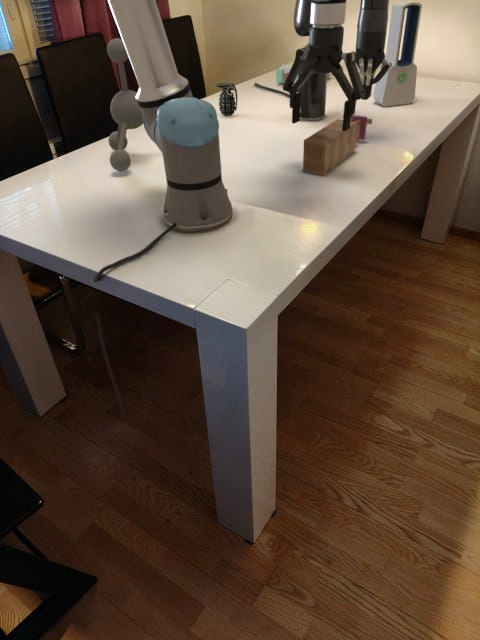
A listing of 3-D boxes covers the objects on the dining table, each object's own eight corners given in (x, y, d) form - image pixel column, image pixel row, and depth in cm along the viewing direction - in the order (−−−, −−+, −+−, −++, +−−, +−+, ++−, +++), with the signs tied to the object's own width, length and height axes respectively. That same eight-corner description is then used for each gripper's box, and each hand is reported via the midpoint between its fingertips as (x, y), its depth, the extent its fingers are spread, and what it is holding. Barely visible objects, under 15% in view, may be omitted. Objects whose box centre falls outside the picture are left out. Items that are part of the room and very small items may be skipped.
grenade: (217, 117, 168) (214, 86, 162) (221, 112, 172) (219, 82, 166) (235, 117, 166) (233, 86, 160) (239, 113, 171) (238, 82, 165)
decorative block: (299, 55, 215) (340, 58, 206) (298, 71, 219) (339, 75, 210) (267, 66, 199) (310, 70, 190) (267, 83, 203) (309, 88, 194)
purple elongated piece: (357, 131, 146) (360, 109, 143) (372, 133, 144) (375, 111, 140) (322, 156, 131) (323, 132, 127) (338, 159, 129) (340, 135, 125)
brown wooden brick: (335, 148, 138) (337, 119, 133) (354, 152, 135) (357, 121, 130) (302, 171, 126) (303, 140, 121) (323, 175, 123) (325, 143, 118)
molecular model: (194, 162, 134) (180, 38, 116) (114, 177, 128) (87, 49, 110) (171, 138, 152) (156, 27, 133) (100, 151, 146) (75, 36, 127)
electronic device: (382, 107, 168) (394, 4, 149) (371, 102, 174) (382, 2, 155) (414, 102, 170) (430, 0, 152) (403, 98, 176) (417, -1, 158)
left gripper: (388, 25, 104) (374, 128, 116) (285, 21, 115) (283, 115, 128) (374, 30, 99) (362, 137, 112) (269, 25, 110) (268, 122, 123)
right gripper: (402, 27, 126) (392, 98, 137) (354, 25, 132) (348, 93, 143) (391, 31, 121) (382, 105, 132) (342, 29, 127) (337, 100, 138)
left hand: (320, 125), depth 120 cm, fingers open, 13 cm apart
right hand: (364, 99), depth 137 cm, fingers closed
